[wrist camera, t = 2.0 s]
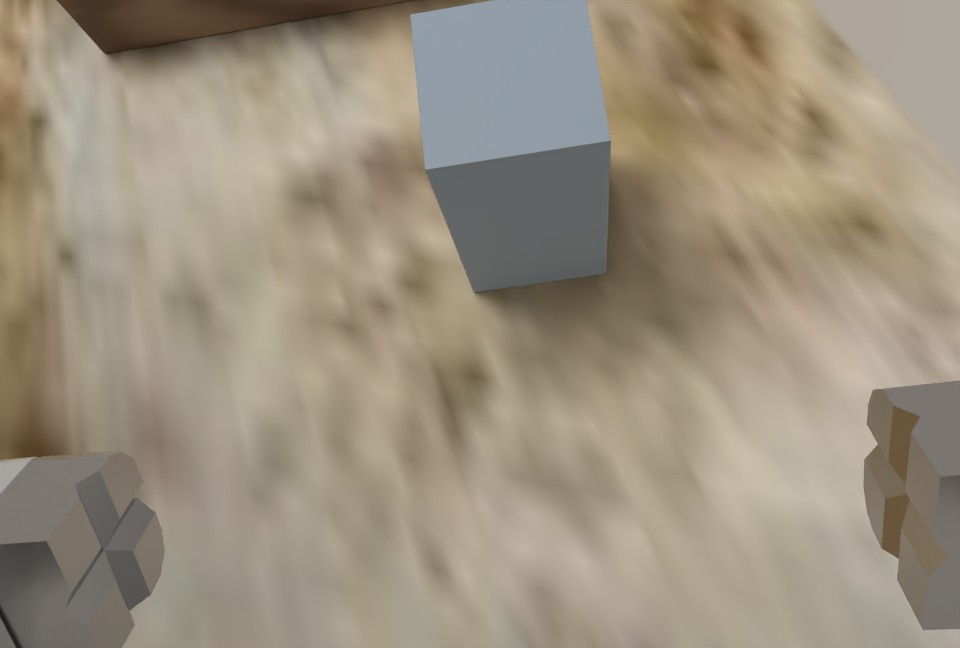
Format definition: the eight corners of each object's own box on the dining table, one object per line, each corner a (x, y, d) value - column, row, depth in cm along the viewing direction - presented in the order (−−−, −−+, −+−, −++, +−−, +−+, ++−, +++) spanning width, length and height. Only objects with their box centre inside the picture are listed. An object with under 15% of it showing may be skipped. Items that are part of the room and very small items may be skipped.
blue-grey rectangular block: (473, 292, 33) (425, 169, 24) (460, 174, 35) (410, 14, 25) (606, 273, 33) (610, 140, 23) (587, 154, 34) (583, -16, 25)
